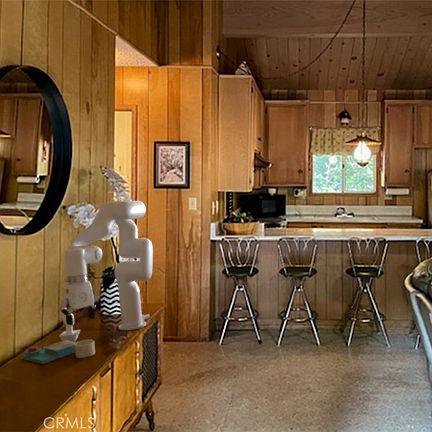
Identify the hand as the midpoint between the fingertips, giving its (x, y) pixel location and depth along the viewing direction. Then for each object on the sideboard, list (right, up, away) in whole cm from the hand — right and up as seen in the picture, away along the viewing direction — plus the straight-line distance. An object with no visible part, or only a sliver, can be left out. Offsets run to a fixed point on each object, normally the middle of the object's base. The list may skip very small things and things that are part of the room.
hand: (81, 321), depth 196 cm
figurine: (-14, -14, +22) cm, 29 cm away
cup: (+1, -14, +1) cm, 14 cm away
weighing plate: (-10, -14, +5) cm, 18 cm away
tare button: (-20, -12, +2) cm, 24 cm away
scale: (-14, -15, +4) cm, 20 cm away
